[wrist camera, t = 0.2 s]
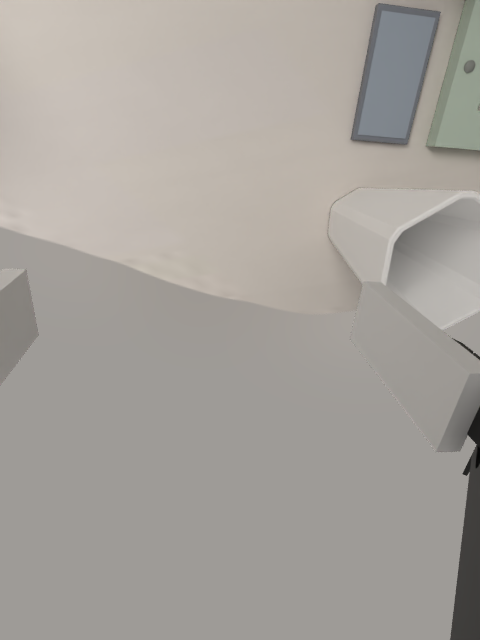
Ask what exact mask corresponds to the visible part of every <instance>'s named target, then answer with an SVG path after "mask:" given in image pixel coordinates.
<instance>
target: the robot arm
mask: <svg viewBox="0 0 480 640" xmlns="http://www.w3.org/2000/svg"><path fill="white" fill-rule="evenodd" d="M37 337H38V329H37V324H36V318H35V313H34V308H33V302H32V297H31V291H30V286H29V281H28V276H27V270H26V269H3V270H1V271H0V385H1V384H2V383H3V381H4V380H5V379H6V377H7V376H8V375H9V374H10V372H11V371H12V370H13V368H14V367H15V366H16V364H17V363H18V362H19V360H20V359H21V358H22V356H23V355H24V354H25V352H26V351H27V350H28V348H29V347H30V346H31V344H32V343H33V342H34V340H35V339H36V338H37ZM350 340H351V341H352V343H353V344H354V345H355V347H356V348H357V349H358V350H359V352H360V353H361V354H362V356H363V357H364V358H365V359H366V361H367V362H368V363H369V365H370V366H371V367H372V369H373V370H374V371H375V373H376V374H377V375H378V377H379V378H380V379H381V381H382V382H383V383H384V385H386V387H387V388H388V390H389V391H390V392H391V394H392V395H393V396H394V398H395V399H396V400H397V402H398V403H399V404H400V405H401V407H402V408H403V409H404V411H405V412H406V413H407V415H408V416H409V417H410V419H411V420H412V421H413V422H414V424H415V425H416V426H417V428H418V429H419V430H420V432H421V433H422V434H423V436H424V437H425V438H426V440H427V441H428V442H429V443H430V445H431V446H432V447H433V449H434V450H435V451H436V452H453V451H454V452H455V451H460V450H461V448H462V446H463V444H464V442H465V439H466V438H467V435H469V437H470V438H471V439H472V440H473V441H474V442H475V443H476V444H477V445H476V447H475V450H474V452H473V454H472V456H471V458H470V460H469V462H468V464H467V466H466V468H465V470H464V472H463V474H464V475H466V476H467V475H468V473H469V472H470V475H469V483H468V492H467V501H466V509H465V518H464V527H463V535H462V544H461V552H460V561H459V570H458V578H457V587H456V595H455V604H454V612H453V622H452V630H451V638H450V640H480V357H479V356H478V355H477V354H475V353H473V351H472V350H470V349H469V348H468V347H466V346H465V345H464V344H463V343H461V342H459V341H457V340H455V339H453V338H451V337H450V336H449V335H447V334H446V333H445V332H443V331H442V330H441V329H440V328H438V327H437V326H436V325H435V324H433V323H432V322H431V321H430V320H428V319H427V318H426V317H425V316H423V315H422V314H421V313H419V312H418V311H417V310H416V309H414V308H413V307H412V306H411V305H409V304H408V303H407V302H406V301H404V300H403V299H402V298H401V297H399V296H398V295H397V294H396V293H394V292H393V291H392V290H390V289H389V288H388V287H387V286H385V285H384V284H383V283H382V282H370V281H364V282H363V286H362V290H361V294H360V298H359V302H358V306H357V310H356V315H355V319H354V323H353V327H352V331H351V336H350Z"/></svg>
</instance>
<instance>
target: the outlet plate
mask: <svg viewBox="0 0 480 640" xmlns="http://www.w3.org/2000/svg"><path fill="white" fill-rule="evenodd" d="M479 104H480V0H465V4H464V7H463V11H462V15H461V19H460V22H459V26H458V30H457V33H456V37H455V41H454V44H453V48H452V52H451V55H450V59H449V63H448V67H447V70H446V74H445V78H444V81H443V85H442V89H441V92H440V96H439V100H438V103H437V107H436V111H435V115H434V118H433V122H432V126H431V129H430V133H429V137H428V140H427V144H426V146H433V147H444V148H456V149H468V150H479V151H480V111H477V110H478V107H479Z"/></svg>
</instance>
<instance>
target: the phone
mask: <svg viewBox="0 0 480 640" xmlns="http://www.w3.org/2000/svg"><path fill="white" fill-rule="evenodd" d="M440 13H441V12H438V11H431V10H424V9H417V8H409V7H402V6H395V5H388V4H381V3H379V4H377V5H376V7H375V13H374V18H373V23H372V29H371V34H370V39H369V45H368V50H367V55H366V60H365V66H364V71H363V76H362V82H361V87H360V92H359V98H358V103H357V108H356V113H355V119H354V124H353V129H352V135H351V140H363V141H374V142H385V143H397V144H407V143H408V139H409V135H410V131H411V127H412V123H413V119H414V115H415V111H416V107H417V103H418V100H419V96H420V92H421V88H422V84H423V80H424V76H425V72H426V68H427V64H428V60H429V56H430V52H431V48H432V44H433V40H434V36H435V32H436V28H437V24H438V21H439V17H440Z"/></svg>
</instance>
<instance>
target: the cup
mask: <svg viewBox="0 0 480 640" xmlns="http://www.w3.org/2000/svg"><path fill="white" fill-rule="evenodd" d="M328 236H329V238H330V240H331V242H332V243H333V245H334V246H335V248H336V249H337V250H338V252H339V253H340V255H341V256H342V257H343V259H344V260H345V262H346V263H347V264H348V266H349V267H350V269H351V270H352V271H353V273H354V274H355V275H356V277H357V278H358V280H359V281H360V282H361V284H362V285H363V282H364V281H370V282H382V283H383V284H384V285H385V286H387V287H388V288H389V289H390V290H392V291H393V292H394V293H396V294H397V295H398V296H399V297H401V298H402V299H403V300H404V301H406V302H407V303H408V304H409V305H411V306H412V307H413V308H414V309H416V310H417V311H418V312H419V313H421V314H422V315H423V316H425V317H426V318H427V319H428V320H430V321H431V322H432V323H433V324H435V325H436V326H437V327H438V328H440V329H441V330H442V331H443V330H445V329H447V328H449V327H451V326H453V325H455V324H457V323H459V322H461V321H463V320H465V319H467V318H469V317H470V316H472V315H474V314H476V313H478V312H480V194H479V193H478V192H476V191H465V190H427V189H390V188H358V189H356V190H354V191H353V192H351V193H349V194H348V195H346V196H344V197H342V198H341V199H339V200H337V201H336V202H335V203H334V205H333V206H332V208H331V210H330V219H329V228H328Z"/></svg>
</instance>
